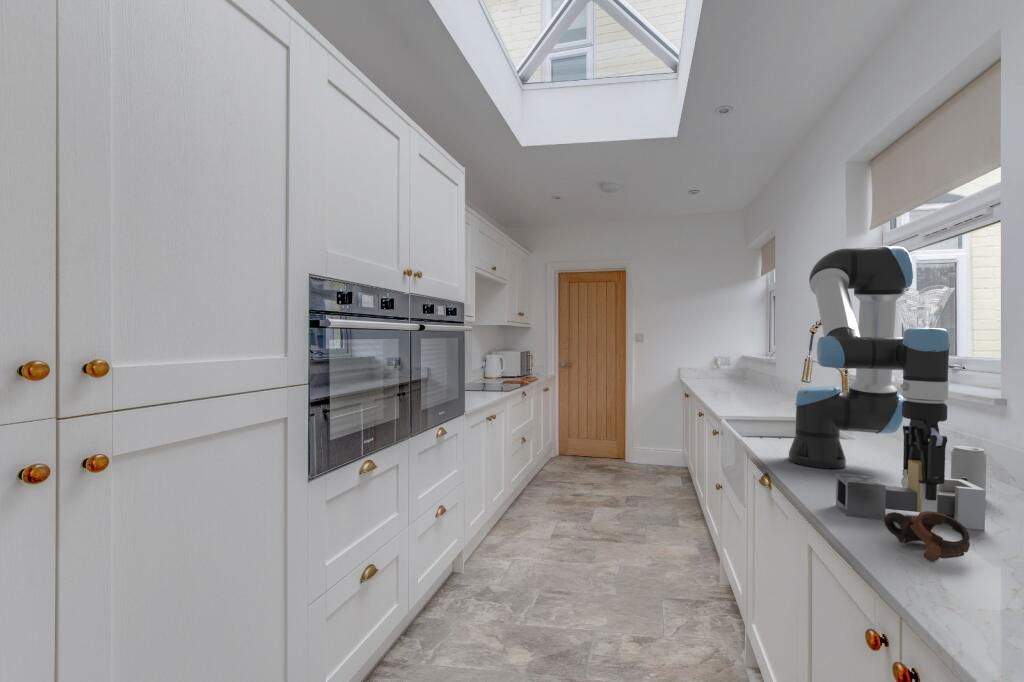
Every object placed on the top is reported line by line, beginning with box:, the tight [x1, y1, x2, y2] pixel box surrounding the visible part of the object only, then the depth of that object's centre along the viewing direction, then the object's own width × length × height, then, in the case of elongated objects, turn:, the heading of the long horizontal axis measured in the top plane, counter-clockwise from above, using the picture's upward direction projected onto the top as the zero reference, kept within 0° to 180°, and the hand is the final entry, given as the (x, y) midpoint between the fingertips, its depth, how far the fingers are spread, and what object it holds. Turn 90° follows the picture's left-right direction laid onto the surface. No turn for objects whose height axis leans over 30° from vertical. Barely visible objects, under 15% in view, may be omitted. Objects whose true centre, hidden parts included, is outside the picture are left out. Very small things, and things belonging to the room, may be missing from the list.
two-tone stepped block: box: [885, 460, 955, 515], centre depth 109 cm, size 4×17×10 cm, turn 74°
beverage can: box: [950, 445, 987, 498], centre depth 125 cm, size 6×6×12 cm
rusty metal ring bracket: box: [883, 511, 971, 563], centre depth 91 cm, size 12×10×8 cm
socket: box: [938, 478, 987, 531], centre depth 107 cm, size 8×4×8 cm, turn 164°
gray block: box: [835, 472, 887, 520], centre depth 112 cm, size 7×7×7 cm
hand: (921, 510), depth 109 cm, fingers closed on two-tone stepped block, 4 cm apart
